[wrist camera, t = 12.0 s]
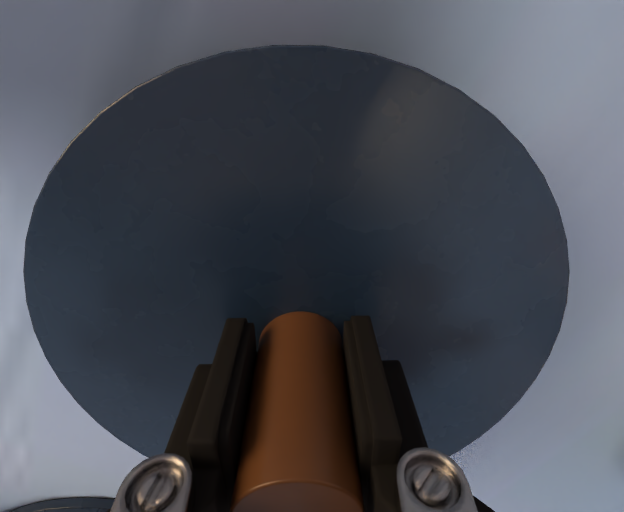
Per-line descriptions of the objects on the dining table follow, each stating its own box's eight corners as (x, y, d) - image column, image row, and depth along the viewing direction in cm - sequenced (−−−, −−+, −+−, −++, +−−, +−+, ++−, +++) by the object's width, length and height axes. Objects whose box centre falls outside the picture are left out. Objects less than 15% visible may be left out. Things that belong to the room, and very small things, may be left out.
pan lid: (-48, 302, 12) (-362, 507, 6) (336, -149, 7) (446, -944, 2) (287, 509, 18) (278, 709, 12) (620, 336, 13) (856, 535, 7)
